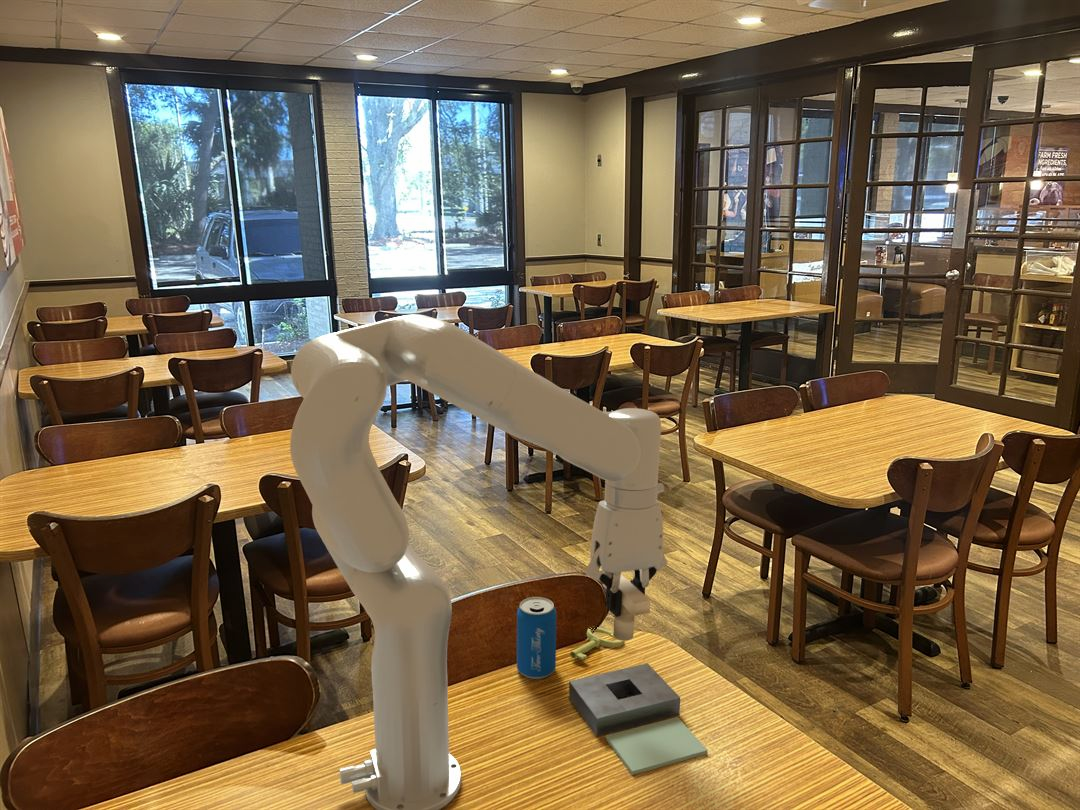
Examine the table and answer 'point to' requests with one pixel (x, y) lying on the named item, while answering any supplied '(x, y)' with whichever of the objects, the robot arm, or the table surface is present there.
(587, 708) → the lock housing
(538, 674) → the beverage can
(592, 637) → the key
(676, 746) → the mat
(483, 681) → the table surface
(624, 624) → the t key
